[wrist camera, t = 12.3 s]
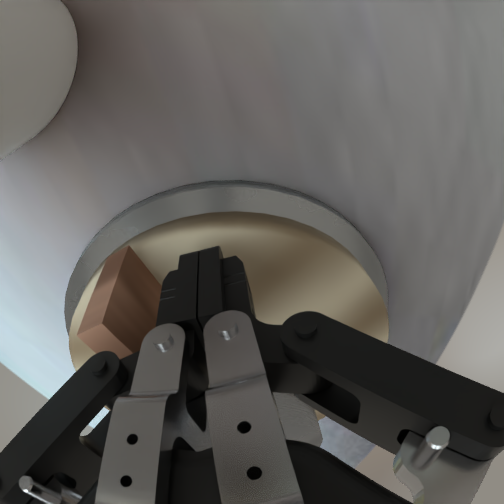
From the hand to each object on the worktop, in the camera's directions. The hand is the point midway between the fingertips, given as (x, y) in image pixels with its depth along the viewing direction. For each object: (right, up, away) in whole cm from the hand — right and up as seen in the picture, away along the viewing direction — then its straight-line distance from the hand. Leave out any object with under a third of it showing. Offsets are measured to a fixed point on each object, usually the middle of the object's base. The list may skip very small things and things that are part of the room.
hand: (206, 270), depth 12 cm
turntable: (0, -5, +7) cm, 9 cm away
